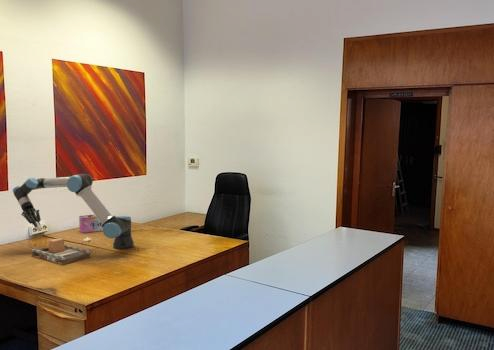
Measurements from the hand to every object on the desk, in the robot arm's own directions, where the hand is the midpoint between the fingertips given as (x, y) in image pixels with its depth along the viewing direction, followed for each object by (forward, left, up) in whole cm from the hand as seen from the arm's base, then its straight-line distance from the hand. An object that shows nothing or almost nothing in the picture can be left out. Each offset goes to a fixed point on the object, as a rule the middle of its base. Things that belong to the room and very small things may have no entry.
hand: (39, 229), depth 307 cm
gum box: (+22, -62, -16) cm, 68 cm away
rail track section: (-24, 0, -15) cm, 28 cm away
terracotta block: (-19, 0, -12) cm, 23 cm away
